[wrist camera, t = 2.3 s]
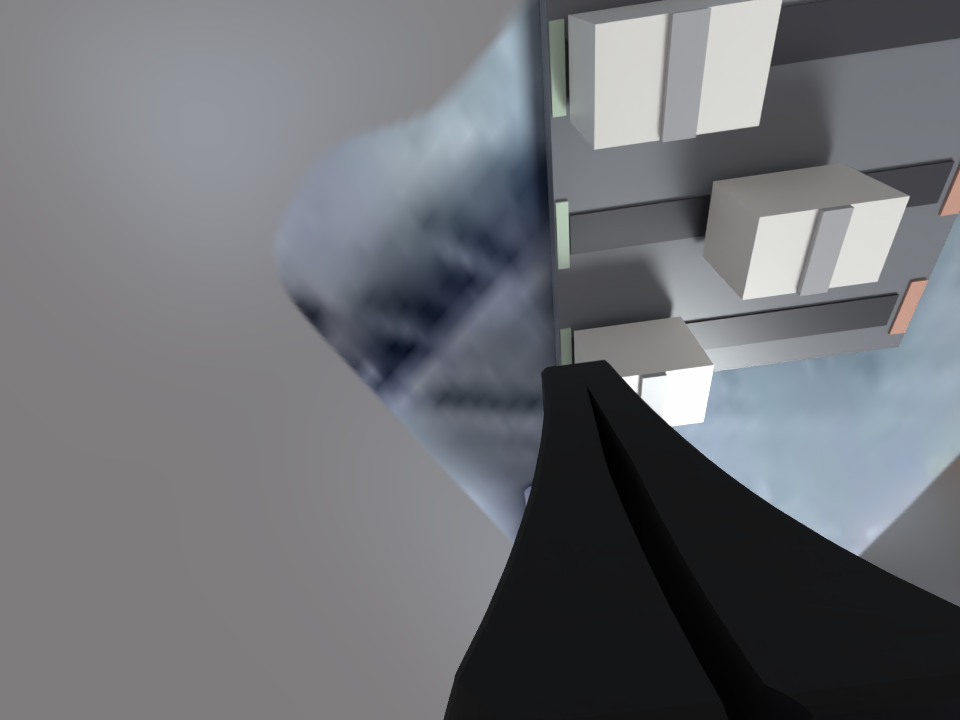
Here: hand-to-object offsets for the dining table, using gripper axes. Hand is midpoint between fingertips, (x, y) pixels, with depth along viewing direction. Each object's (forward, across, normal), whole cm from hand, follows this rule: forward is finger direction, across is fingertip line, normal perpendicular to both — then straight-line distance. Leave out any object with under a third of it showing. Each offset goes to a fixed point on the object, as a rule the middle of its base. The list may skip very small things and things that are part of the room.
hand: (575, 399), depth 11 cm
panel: (+9, -8, 0) cm, 12 cm away
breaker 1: (+8, -4, -5) cm, 10 cm away
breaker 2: (+8, -4, +5) cm, 10 cm away
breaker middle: (+8, -8, 0) cm, 11 cm away
